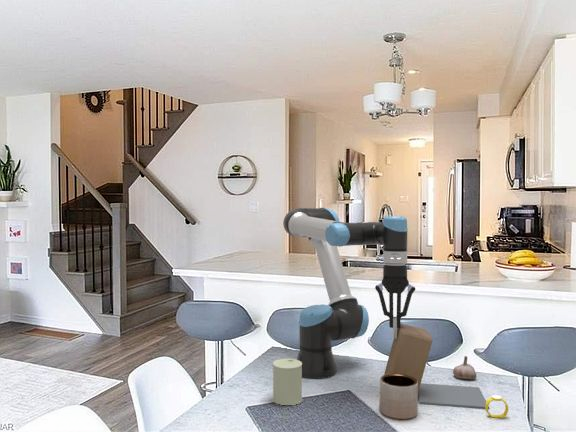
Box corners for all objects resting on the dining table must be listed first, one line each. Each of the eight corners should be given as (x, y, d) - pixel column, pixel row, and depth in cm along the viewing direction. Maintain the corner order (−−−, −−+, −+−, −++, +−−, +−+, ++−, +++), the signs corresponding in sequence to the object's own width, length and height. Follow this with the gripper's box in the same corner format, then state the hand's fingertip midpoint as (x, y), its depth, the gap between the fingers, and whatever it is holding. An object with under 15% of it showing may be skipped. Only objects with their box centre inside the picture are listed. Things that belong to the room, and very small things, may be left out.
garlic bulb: (480, 380, 169) (480, 357, 169) (464, 383, 166) (464, 360, 166) (464, 373, 176) (465, 351, 176) (448, 376, 173) (448, 353, 173)
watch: (487, 419, 139) (486, 398, 139) (484, 415, 142) (483, 395, 141) (509, 419, 138) (508, 398, 138) (506, 414, 141) (505, 394, 141)
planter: (394, 423, 136) (394, 389, 135) (372, 408, 146) (372, 376, 145) (425, 416, 140) (426, 383, 140) (402, 402, 150) (402, 371, 150)
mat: (419, 403, 149) (419, 401, 149) (416, 384, 165) (416, 382, 165) (489, 409, 145) (489, 407, 145) (479, 389, 161) (479, 387, 161)
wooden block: (411, 386, 162) (427, 329, 161) (417, 399, 152) (433, 338, 151) (382, 378, 163) (397, 321, 162) (385, 391, 153) (402, 330, 152)
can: (306, 396, 155) (306, 358, 154) (297, 407, 146) (297, 368, 145) (278, 392, 158) (278, 355, 157) (268, 403, 149) (268, 364, 149)
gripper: (374, 264, 155) (374, 339, 154) (416, 265, 152) (415, 341, 152) (375, 262, 162) (375, 334, 162) (414, 263, 159) (414, 336, 159)
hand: (394, 337), depth 157 cm, fingers closed
